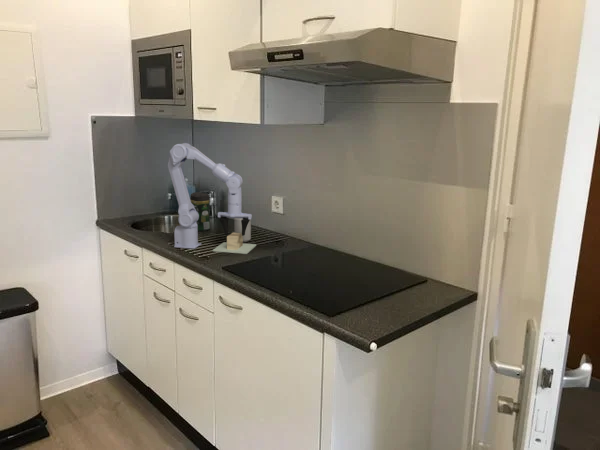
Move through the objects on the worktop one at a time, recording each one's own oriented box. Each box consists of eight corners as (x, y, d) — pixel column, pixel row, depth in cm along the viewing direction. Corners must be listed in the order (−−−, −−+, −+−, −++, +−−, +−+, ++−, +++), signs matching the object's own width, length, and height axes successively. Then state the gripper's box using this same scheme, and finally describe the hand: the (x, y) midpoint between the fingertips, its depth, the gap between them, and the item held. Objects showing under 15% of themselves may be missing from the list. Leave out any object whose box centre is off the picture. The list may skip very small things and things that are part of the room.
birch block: (233, 244, 213) (232, 232, 212) (242, 245, 212) (242, 233, 211) (226, 249, 205) (226, 236, 204) (236, 249, 204) (236, 237, 203)
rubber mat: (212, 251, 204) (212, 250, 203) (223, 243, 217) (223, 242, 217) (247, 253, 201) (247, 252, 201) (256, 245, 214) (256, 244, 214)
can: (253, 239, 225) (253, 213, 223) (247, 243, 218) (247, 217, 216) (237, 237, 227) (237, 212, 224) (231, 241, 220) (231, 215, 217)
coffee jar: (188, 228, 243) (187, 192, 239) (201, 226, 249) (201, 190, 245) (199, 232, 237) (198, 194, 233) (212, 229, 242) (212, 193, 238)
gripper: (215, 203, 202) (215, 235, 205) (248, 205, 200) (248, 237, 202) (220, 201, 209) (221, 231, 212) (253, 203, 206) (253, 234, 209)
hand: (234, 234), depth 208 cm, fingers open, 7 cm apart
